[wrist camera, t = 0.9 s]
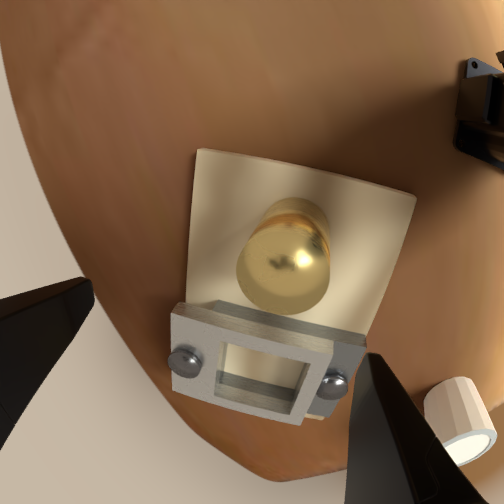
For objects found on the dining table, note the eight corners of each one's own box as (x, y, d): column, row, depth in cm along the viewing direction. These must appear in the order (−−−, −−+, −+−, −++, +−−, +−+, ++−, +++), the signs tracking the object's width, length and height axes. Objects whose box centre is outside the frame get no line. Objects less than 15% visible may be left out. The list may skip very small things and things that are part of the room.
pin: (337, 206, 19) (341, 244, 13) (320, 269, 21) (316, 323, 15) (266, 190, 19) (242, 221, 14) (255, 253, 21) (231, 302, 16)
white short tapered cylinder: (491, 374, 22) (511, 428, 16) (456, 417, 25) (467, 469, 19) (439, 368, 23) (455, 429, 17) (405, 414, 26) (411, 471, 20)
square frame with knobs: (366, 334, 22) (369, 368, 19) (330, 405, 26) (328, 436, 23) (186, 290, 24) (166, 317, 21) (184, 367, 28) (169, 394, 24)
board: (413, 194, 18) (417, 198, 17) (323, 412, 28) (322, 420, 27) (202, 147, 20) (197, 149, 19) (187, 377, 30) (183, 384, 29)
